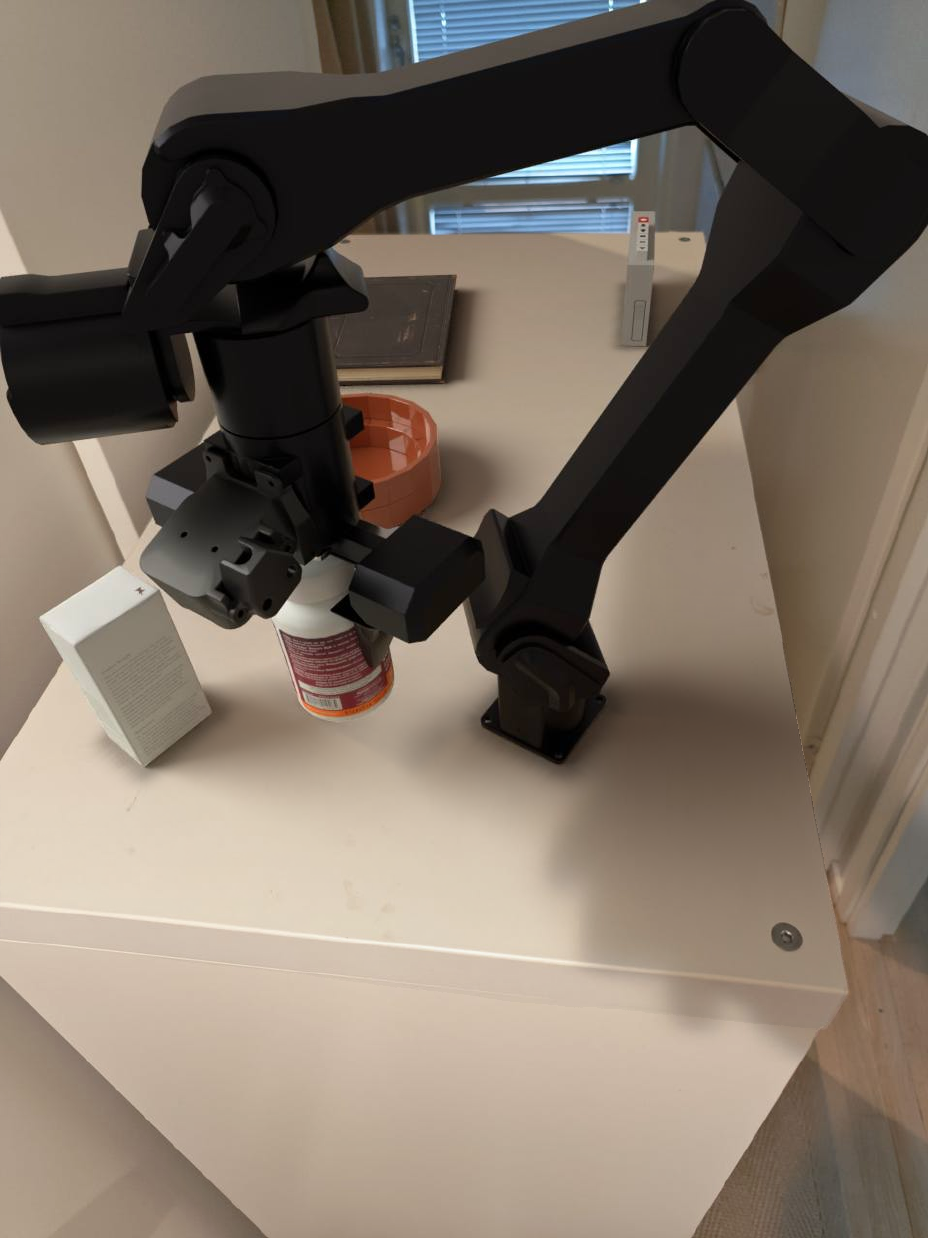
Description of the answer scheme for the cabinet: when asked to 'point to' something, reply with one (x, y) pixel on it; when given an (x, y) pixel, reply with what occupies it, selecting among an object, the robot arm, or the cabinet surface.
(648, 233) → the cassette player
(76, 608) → the cosmetic box
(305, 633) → the pill bottle
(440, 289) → the hardcover book
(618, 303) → the cabinet surface
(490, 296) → the cabinet surface
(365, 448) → the bowl
